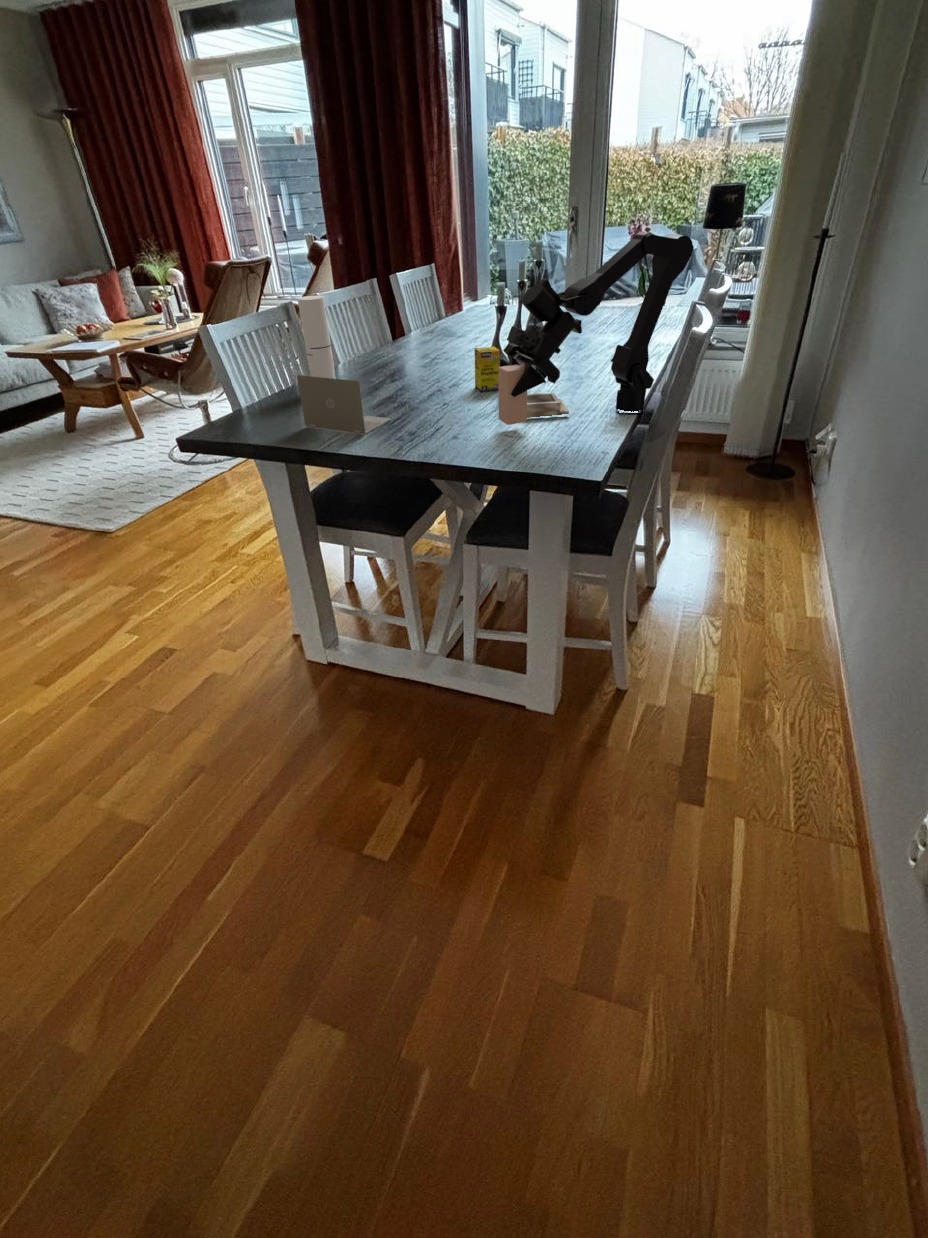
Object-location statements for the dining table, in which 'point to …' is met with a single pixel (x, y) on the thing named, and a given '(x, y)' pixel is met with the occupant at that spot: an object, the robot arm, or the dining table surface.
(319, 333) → the cylindrical container
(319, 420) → the laptop
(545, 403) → the plate
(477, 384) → the supplement box
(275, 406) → the dining table surface
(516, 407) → the terracotta peg
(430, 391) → the dining table surface
